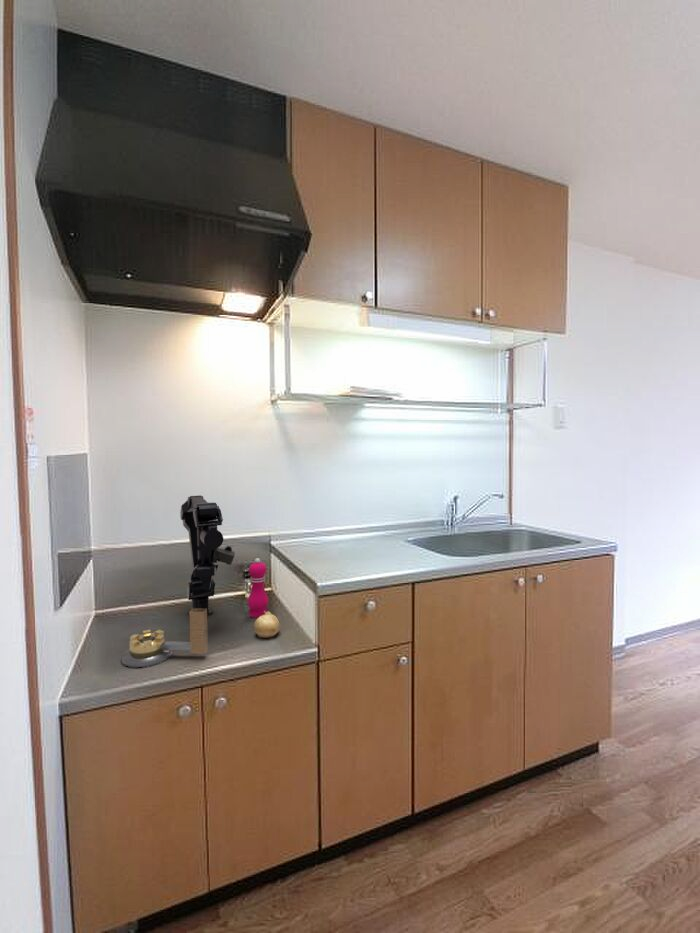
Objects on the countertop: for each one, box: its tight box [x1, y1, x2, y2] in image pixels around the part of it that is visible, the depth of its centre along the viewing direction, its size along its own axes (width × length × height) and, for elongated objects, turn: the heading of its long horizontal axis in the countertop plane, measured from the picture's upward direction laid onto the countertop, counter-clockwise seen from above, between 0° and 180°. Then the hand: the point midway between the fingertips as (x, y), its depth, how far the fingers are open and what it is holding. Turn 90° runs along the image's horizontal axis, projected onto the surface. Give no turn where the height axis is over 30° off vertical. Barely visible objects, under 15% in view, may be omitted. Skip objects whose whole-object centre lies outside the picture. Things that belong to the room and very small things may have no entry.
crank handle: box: [129, 608, 209, 658], centre depth 124 cm, size 22×9×12 cm, turn 87°
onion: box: [253, 611, 280, 639], centre depth 138 cm, size 8×8×7 cm
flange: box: [121, 647, 173, 669], centre depth 124 cm, size 13×13×2 cm
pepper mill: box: [247, 557, 269, 619], centre depth 153 cm, size 7×7×20 cm
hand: (208, 589), depth 141 cm, fingers closed
